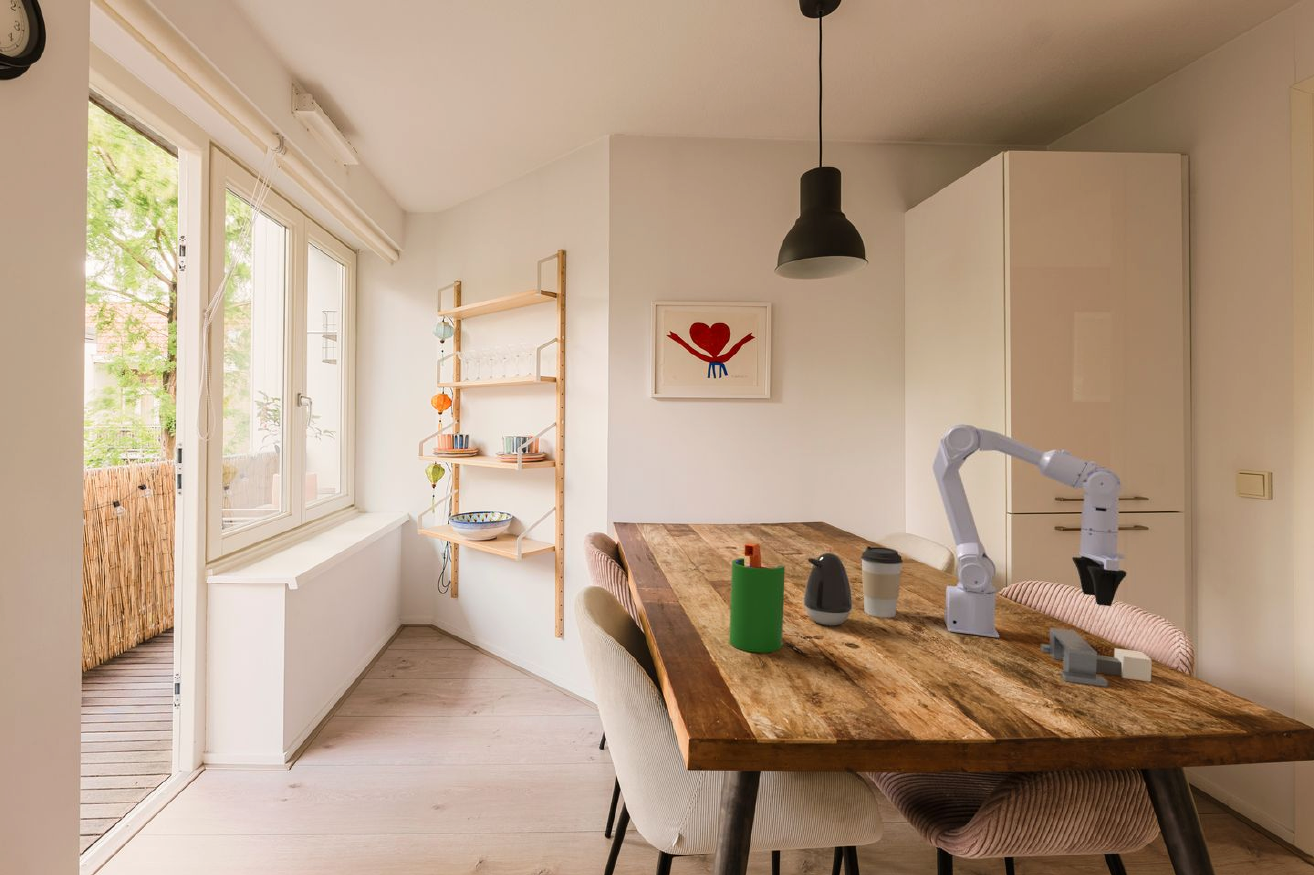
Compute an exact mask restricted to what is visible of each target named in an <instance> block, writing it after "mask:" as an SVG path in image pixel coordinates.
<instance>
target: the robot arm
mask: <svg viewBox="0 0 1314 875" xmlns="http://www.w3.org/2000/svg"><path fill="white" fill-rule="evenodd" d="M978 450H979V451H981V452H984V451H985V452H986V451H997V452H999V453H1003V454H1004V455H1008V456H1011V457H1013V458H1016V459H1018V460H1021V461H1024V462H1027V463H1029V464H1032V465H1034V466H1037V467H1038V470H1039V472H1040V474H1041V475H1042V476H1044V477H1047V478H1048V479H1052V480H1053V481H1055V482H1059V483H1061V484H1064V485H1066V486H1068V487H1071V488H1073V489H1083V491H1084V492H1083V493H1084V494H1083V495H1084V496H1083V504H1081V524H1080V527H1081V528H1080V547H1079V549H1078V554H1079V555H1080V557H1075V556H1074V557H1073V556H1072V561H1073V563H1074V565H1075V568H1076V570H1077V572H1078V576H1079V581H1080V585H1081V586H1080V587H1081V590H1082V593H1083V595H1087V596H1094V599H1095V602H1096V605H1098V606H1105V607H1111V606H1112V604H1113V601H1114V599H1115V597H1116V592H1117V590H1118V588H1119V586H1120V584H1121V582H1122V581H1123V580H1124V579H1125V578H1126V576H1127V572H1126V571H1125V570H1121V569H1119V568H1120V560H1119V559H1122V560H1125V557H1126V556H1125V554H1124V553H1120V552H1119V553H1118V543H1119V542H1118V541H1119V540H1118V539H1119V538H1118V537H1119V517H1120V514H1119V513H1120V511H1119V510H1120V509H1119V507H1118V505H1119V502H1120V501H1119V500H1120V499H1119V494H1120V492H1121V490H1122V489H1123V485H1122V482H1121V479H1120V477H1119V476H1118V475H1117V474H1116V472H1114V471H1113V470H1110V469H1108V468H1106V467H1104V466H1097V465H1098V462H1096V461H1093V460H1091V462H1090V461H1087V460H1085V459H1081V458H1079V457H1076V456H1074V455H1072V454H1071V451H1070V450H1067V449H1065V448H1064V449H1062V450H1059V449H1051V450H1049V451H1043V450H1040V449H1038V448H1035V447H1034V446H1030V445H1028V444H1027V443H1024V442H1022V441H1019V440H1016V439H1014V438H1012V437H1009V436H1008V435H1004V434H1002V433H999V432H997V431H992V430H988V429H985V428H978V427H976V426H973V425H971V424H963V423H962V424H955V425H953V426H951V427H950V428H949V429H948V430H947V431H946V432H945V434H944V435H942V437H941V438H940V441H939V446H938V449H937V452H936V454H935V458H934V460H933V463H932V470H933V474H934V477H935V481H936V485H937V486H938V487H937V488H938V491H939V494H940V498H941V500H942V504H943V506H944V510H945V513H946V516H947V519H948V522H949V526H950V529H951V533H952V536H953V540H954V542H955V548H956V558H957V562H958V569H957V578H958V580H959V581H958V583H957V585H955V586H954V585H947V586H946V590H945V609H944V610H945V611H944V622H945V625H946V629H947V630H948V632H953V633H958V634H959V633H960V634H967V635H976V636H982V637H983V636H984V637H990V638H1000V635H999V633H998V631H997V629H996V628H995V627H996V626H995V624H996V622H995V619H996V618H995V617H996V595H997V594H996V591H997V589H996V587H995V586H994V585H993V584H992V580H993V578H995V575H996V572H997V571H996V570H997V569H996V565H995V563H994V562H993V560H992V559H991V558H990V557H989V556H988V553H987V552H986V549H985V547H984V545H983V543H982V541H981V539H980V535H979V532H978V530H977V526H976V523H975V519H974V516H973V513H972V511H971V510H972V509H971V507H970V504H969V501H968V497H967V494H966V491H965V487H964V484H963V481H962V478H961V475H960V472H959V470H960V469H961V467H962V466H963V465H964V463H965V462H966V460H967V458H969V457H970V456H971V455H972V454H974V453H976V451H978Z"/></svg>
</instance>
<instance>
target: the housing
mask: <svg viewBox="0 0 1314 875" xmlns="http://www.w3.org/2000/svg"><path fill="white" fill-rule="evenodd" d="M1040 650H1041V652H1042V651H1043V652H1042V653H1044V654H1049V655H1050V657H1052V659H1053V660H1058V661H1063V665H1062V668H1063V669H1062V670H1061V678H1062V679H1063V681H1064V682H1070V683H1076V684H1082V685H1084V684H1085V685H1090V686H1095V687H1103V688H1108V680H1107V679H1106V678H1105V677H1104V676H1103V675H1102V676H1099V675H1097V672H1096V664H1097V655H1098V652H1097V651H1096V650H1095V649H1094V648H1093V647H1092V646H1091V645H1090V644H1089V643H1088V642H1087V641H1085V639H1084V638H1083V637H1082V636H1081V635H1080V634H1079V633H1078V632H1077V631H1076V630H1074V629H1067V628H1066V629H1065V628H1057V627H1049V644H1044V643H1040Z"/></svg>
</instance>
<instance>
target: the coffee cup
mask: <svg viewBox="0 0 1314 875" xmlns="http://www.w3.org/2000/svg"><path fill="white" fill-rule="evenodd" d="M860 558H861V565H862V567H861V578H862V579H861V580H862V593H863V602H864V603H863V606H864V609H863V610H864V613H865V614H867V615H869V616H872V617H876V618H877V617H878V618H883V619H885V618H886V619H888V618H894V617H895V616H896V615H897V614H896V613H897V605H898V598H899V595H900V594H899V593H900V586H901V578H902V564H903V559H902V556H901V555H900V554H899V552H898V551H897V550H896V549H893V548H888V547H887V548H886V547H878V546H877V547H875V546H874V547H872V546H869V545H868V546H867V547H866V549H865V551H863V552H862V554H861V557H860Z"/></svg>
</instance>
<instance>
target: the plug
mask: <svg viewBox="0 0 1314 875" xmlns="http://www.w3.org/2000/svg"><path fill="white" fill-rule="evenodd" d="M1152 661H1153V660H1152V658H1150V657H1149V656H1148V655H1147V654H1145V653H1144V652H1142V651H1137V650H1130V649H1123V648H1117V647H1116V648H1114V656H1106V655H1099V654H1097V664H1096V674H1097V673H1098V674H1106V675H1111V676H1118V677H1119V676H1120V677H1121V678H1122V679H1128V680H1136V681H1144V682H1149V683H1150V682H1151V681H1152V663H1153V662H1152Z"/></svg>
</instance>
